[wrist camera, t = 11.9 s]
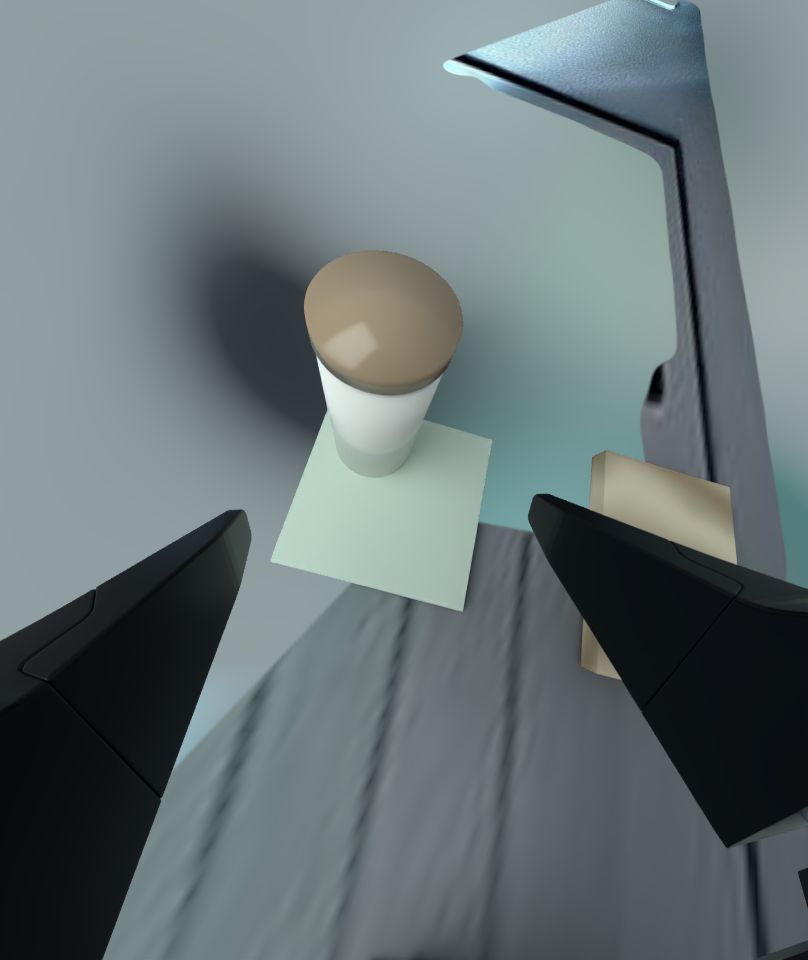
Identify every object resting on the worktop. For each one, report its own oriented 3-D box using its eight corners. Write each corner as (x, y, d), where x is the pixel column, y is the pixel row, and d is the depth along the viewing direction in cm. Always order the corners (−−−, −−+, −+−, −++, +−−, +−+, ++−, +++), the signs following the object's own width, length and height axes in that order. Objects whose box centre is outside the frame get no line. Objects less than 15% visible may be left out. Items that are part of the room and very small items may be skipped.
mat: (459, 610, 20) (462, 611, 20) (272, 561, 20) (270, 561, 19) (489, 442, 24) (492, 439, 24) (334, 397, 24) (334, 392, 23)
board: (725, 703, 21) (751, 713, 19) (580, 666, 20) (597, 673, 19) (709, 491, 26) (729, 487, 24) (592, 456, 25) (605, 450, 24)
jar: (425, 456, 22) (492, 343, 11) (357, 492, 21) (353, 404, 10) (387, 396, 24) (412, 235, 12) (320, 426, 22) (276, 275, 11)
